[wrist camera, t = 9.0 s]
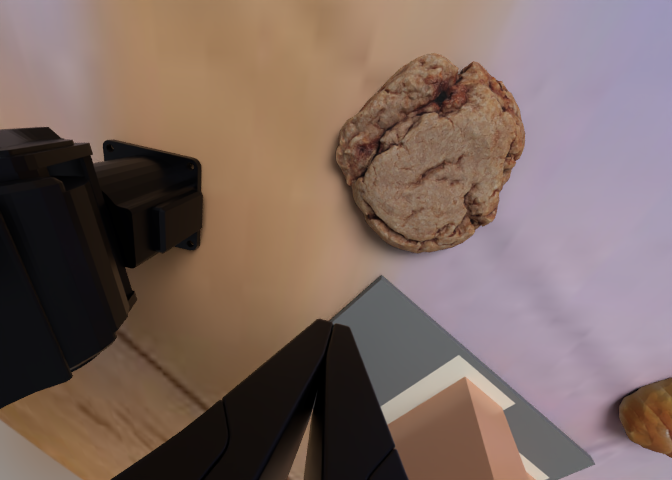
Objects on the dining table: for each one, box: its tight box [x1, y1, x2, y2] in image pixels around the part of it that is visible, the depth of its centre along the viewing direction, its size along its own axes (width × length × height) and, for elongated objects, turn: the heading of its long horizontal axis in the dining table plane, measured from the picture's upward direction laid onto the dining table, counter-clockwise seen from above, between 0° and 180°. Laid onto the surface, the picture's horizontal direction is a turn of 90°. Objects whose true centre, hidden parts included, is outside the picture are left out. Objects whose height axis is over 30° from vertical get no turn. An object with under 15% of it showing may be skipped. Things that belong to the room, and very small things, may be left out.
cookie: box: [336, 53, 525, 253], centre depth 18 cm, size 10×11×3 cm
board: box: [313, 275, 595, 480], centre depth 26 cm, size 22×13×1 cm, turn 49°
